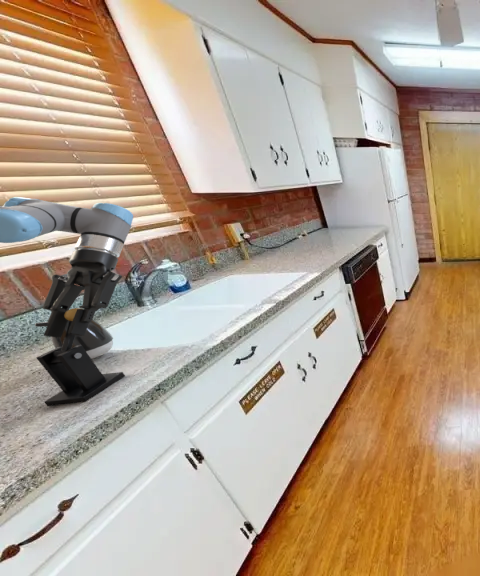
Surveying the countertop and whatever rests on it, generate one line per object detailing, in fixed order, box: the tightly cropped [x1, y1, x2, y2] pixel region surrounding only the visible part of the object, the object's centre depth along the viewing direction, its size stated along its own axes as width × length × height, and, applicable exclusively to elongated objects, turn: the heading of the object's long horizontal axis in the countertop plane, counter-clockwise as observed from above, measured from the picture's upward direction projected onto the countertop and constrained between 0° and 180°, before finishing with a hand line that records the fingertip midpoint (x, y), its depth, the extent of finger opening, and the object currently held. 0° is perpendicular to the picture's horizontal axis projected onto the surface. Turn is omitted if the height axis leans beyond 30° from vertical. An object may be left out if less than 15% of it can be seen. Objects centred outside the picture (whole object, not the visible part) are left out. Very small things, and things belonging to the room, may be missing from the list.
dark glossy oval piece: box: [34, 318, 114, 360], centre depth 89 cm, size 10×10×15 cm
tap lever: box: [51, 307, 84, 363], centre depth 76 cm, size 14×4×4 cm
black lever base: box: [36, 345, 126, 407], centre depth 76 cm, size 10×8×13 cm
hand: (64, 335), depth 75 cm, fingers open, 4 cm apart
